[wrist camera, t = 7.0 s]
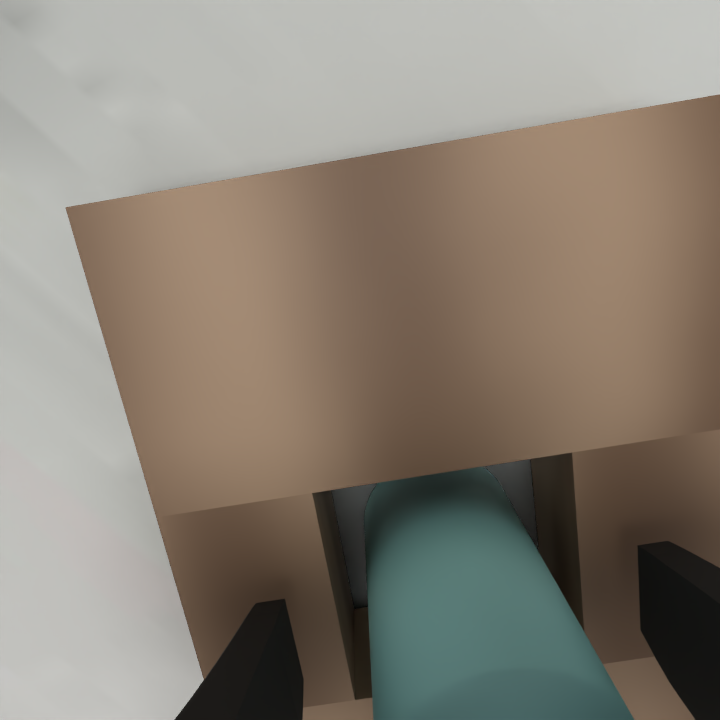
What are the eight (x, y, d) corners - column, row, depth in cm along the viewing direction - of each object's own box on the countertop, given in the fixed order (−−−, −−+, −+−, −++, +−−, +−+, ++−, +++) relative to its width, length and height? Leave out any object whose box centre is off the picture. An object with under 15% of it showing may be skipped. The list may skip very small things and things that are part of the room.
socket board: (646, 122, 12) (740, 91, 9) (661, 736, 17) (727, 845, 14) (132, 210, 12) (65, 207, 10) (284, 789, 17) (270, 907, 14)
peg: (498, 440, 14) (636, 644, 7) (518, 568, 15) (655, 852, 8) (350, 470, 14) (351, 696, 7) (379, 595, 15) (403, 895, 8)
